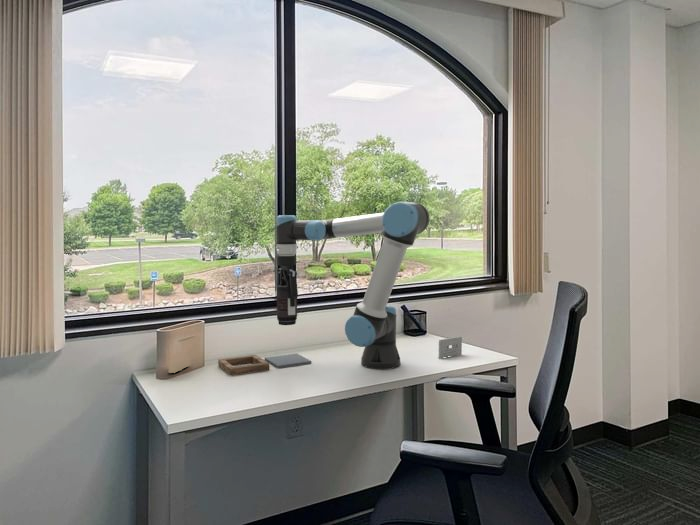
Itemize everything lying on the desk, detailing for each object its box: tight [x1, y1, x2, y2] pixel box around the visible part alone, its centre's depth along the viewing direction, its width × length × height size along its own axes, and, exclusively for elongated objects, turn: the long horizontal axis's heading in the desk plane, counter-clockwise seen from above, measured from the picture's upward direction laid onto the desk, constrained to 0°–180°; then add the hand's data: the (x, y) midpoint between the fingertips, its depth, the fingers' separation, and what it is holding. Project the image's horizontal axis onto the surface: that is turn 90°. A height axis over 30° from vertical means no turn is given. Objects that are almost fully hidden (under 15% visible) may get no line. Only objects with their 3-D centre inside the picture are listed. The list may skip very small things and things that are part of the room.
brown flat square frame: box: [217, 354, 270, 376], centre depth 211 cm, size 15×15×2 cm
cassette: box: [438, 336, 463, 359], centre depth 228 cm, size 12×2×8 cm, turn 123°
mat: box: [264, 352, 312, 369], centre depth 220 cm, size 14×14×1 cm
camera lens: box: [276, 285, 298, 326], centre depth 218 cm, size 8×8×15 cm
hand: (287, 313), depth 218 cm, fingers closed on camera lens, 8 cm apart
